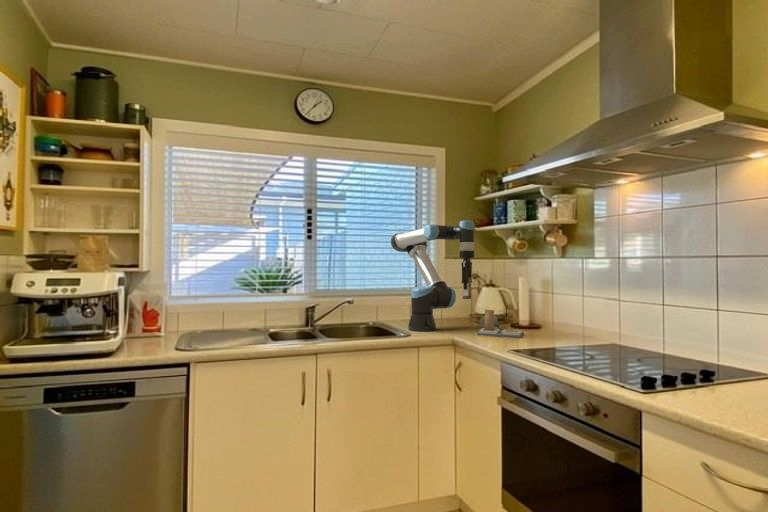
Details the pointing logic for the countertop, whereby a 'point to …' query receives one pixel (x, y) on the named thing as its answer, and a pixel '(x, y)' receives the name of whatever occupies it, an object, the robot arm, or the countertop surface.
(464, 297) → the wooden pin
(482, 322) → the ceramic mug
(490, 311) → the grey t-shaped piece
